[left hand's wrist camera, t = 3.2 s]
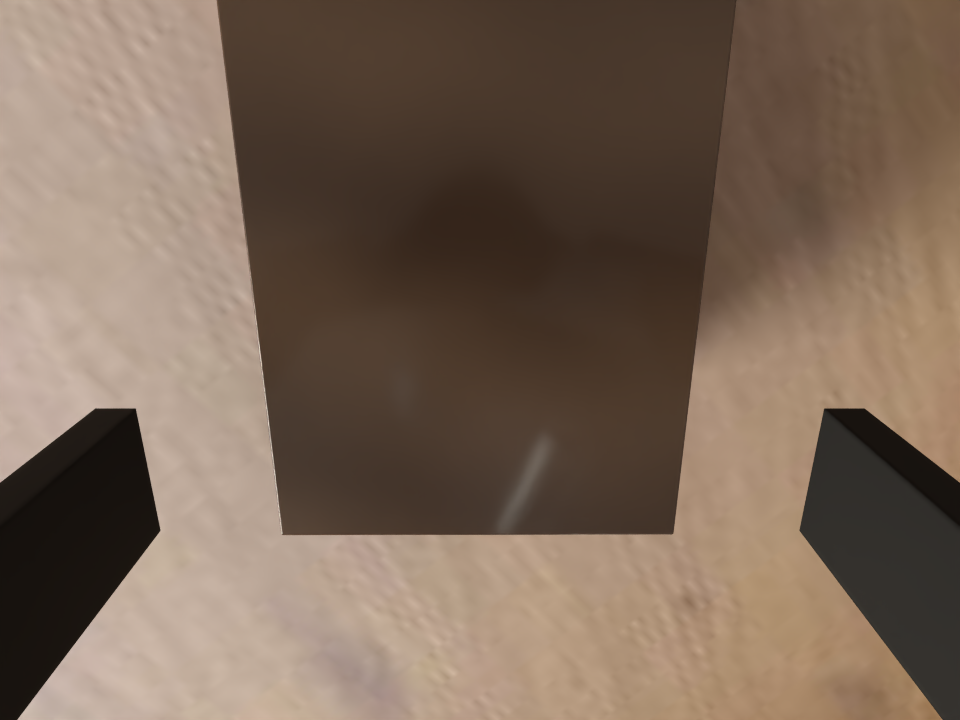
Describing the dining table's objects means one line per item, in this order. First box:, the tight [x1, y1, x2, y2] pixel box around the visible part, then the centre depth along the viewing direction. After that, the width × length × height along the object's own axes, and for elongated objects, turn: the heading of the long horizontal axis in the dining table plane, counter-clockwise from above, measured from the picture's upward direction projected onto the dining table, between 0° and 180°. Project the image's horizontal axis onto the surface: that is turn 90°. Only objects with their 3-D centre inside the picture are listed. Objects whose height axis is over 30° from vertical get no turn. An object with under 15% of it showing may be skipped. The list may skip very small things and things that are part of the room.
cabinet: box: [217, 0, 736, 535], centre depth 19 cm, size 17×10×10 cm, turn 0°
